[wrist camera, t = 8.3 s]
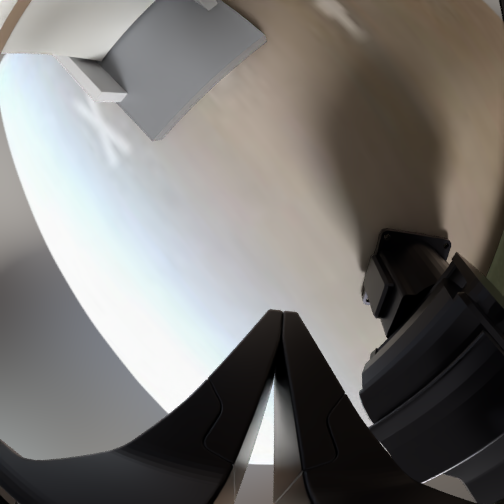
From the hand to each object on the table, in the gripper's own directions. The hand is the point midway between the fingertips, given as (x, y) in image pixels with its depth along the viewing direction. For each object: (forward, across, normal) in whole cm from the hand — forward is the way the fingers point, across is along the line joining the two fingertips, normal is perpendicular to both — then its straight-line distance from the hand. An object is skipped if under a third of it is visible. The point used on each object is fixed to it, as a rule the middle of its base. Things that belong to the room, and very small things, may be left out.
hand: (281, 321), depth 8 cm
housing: (+12, +10, -12) cm, 20 cm away
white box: (+10, +12, -14) cm, 21 cm away
